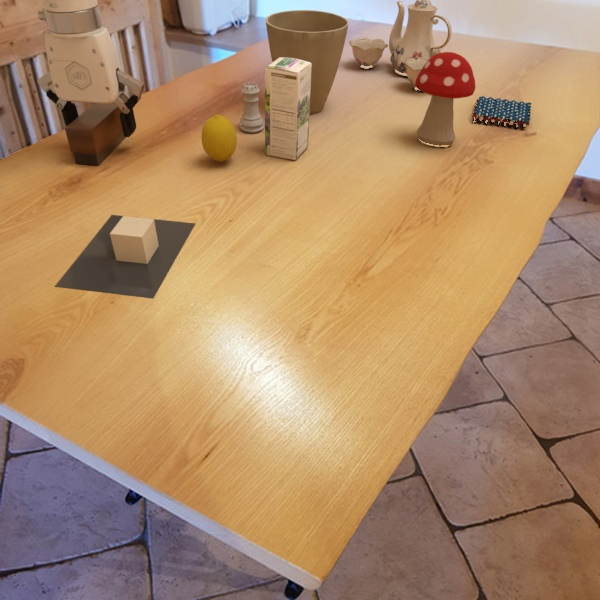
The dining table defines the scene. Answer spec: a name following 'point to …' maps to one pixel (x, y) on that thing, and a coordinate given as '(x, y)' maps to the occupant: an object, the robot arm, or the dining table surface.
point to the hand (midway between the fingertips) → (102, 132)
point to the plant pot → (310, 46)
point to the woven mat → (502, 110)
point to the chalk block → (134, 239)
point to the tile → (125, 275)
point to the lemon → (219, 138)
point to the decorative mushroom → (443, 95)
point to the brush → (95, 133)
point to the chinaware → (405, 40)
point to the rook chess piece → (251, 109)
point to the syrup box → (287, 107)
